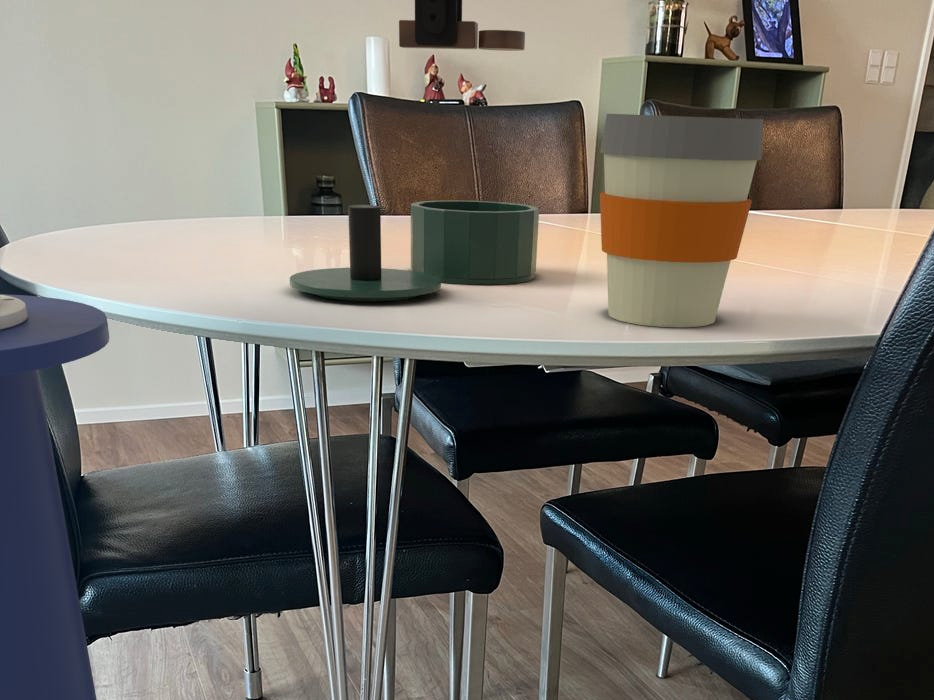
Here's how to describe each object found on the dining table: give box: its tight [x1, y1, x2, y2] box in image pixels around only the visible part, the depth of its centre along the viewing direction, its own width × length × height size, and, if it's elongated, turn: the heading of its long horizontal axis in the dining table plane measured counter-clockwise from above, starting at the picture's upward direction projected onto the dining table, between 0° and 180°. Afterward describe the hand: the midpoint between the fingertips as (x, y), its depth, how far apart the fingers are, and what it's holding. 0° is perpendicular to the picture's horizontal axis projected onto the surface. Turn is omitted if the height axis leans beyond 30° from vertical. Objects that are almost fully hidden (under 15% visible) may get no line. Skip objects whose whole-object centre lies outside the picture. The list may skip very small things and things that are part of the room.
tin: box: [410, 199, 540, 286], centre depth 100 cm, size 13×13×6 cm
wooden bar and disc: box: [398, 19, 526, 52], centre depth 77 cm, size 10×4×2 cm, turn 82°
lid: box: [289, 204, 442, 303], centre depth 89 cm, size 14×14×7 cm
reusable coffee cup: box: [599, 113, 764, 328], centre depth 80 cm, size 13×12×15 cm
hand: (438, 44), depth 78 cm, fingers closed on wooden bar and disc, 1 cm apart
